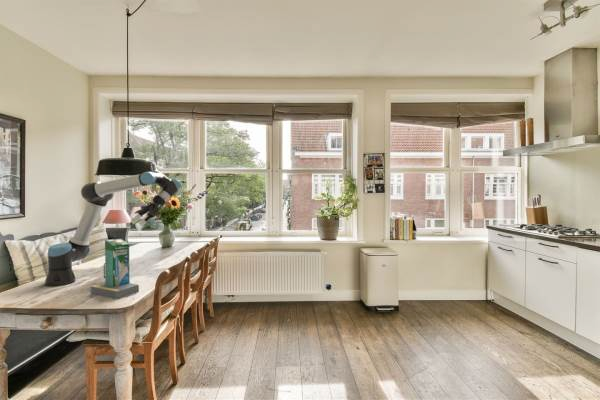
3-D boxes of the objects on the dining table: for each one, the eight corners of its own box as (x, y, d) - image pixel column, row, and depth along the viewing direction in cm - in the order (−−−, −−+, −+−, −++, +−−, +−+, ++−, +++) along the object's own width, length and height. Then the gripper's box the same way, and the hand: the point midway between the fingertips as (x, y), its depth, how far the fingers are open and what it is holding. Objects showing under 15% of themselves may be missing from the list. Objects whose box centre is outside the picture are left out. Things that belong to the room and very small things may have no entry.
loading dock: (91, 294, 182) (90, 286, 182) (114, 287, 194) (114, 279, 194) (116, 299, 174) (116, 291, 174) (138, 291, 186) (138, 284, 186)
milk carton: (113, 286, 182) (112, 241, 181) (105, 283, 187) (104, 240, 186) (129, 283, 189) (129, 239, 189) (121, 280, 195) (121, 238, 194)
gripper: (174, 203, 202) (149, 230, 192) (157, 201, 219) (133, 226, 209) (165, 195, 198) (139, 221, 188) (149, 193, 215) (124, 218, 205)
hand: (136, 223), depth 198 cm, fingers open, 13 cm apart
